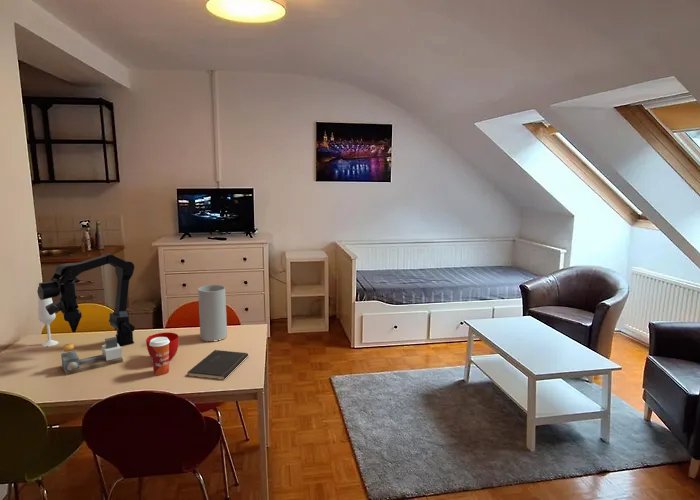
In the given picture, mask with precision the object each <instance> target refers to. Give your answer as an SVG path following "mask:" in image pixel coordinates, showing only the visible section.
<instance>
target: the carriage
mask: <svg viewBox="0 0 700 500" xmlns="http://www.w3.org/2000/svg"><path fill="white" fill-rule="evenodd" d="M104 341H105V344H102V345H101V350H102V351H101V352H102V354H103V355H105V357H106V361H108V360H112V359H117V358H121V357H122V358H123V353H122V352H123V351H122V350H123V349H122V346H119V344H118V343H117V339H116V336H114V337H108V338H104Z"/></svg>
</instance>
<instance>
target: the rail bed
mask: <svg viewBox="0 0 700 500" xmlns="http://www.w3.org/2000/svg"><path fill="white" fill-rule="evenodd" d="M60 357H61V368H62V369H63V372H64V375H65V376H69V375H72V374H78V373H82V372H86V371H90V370H95V369H99V368H103V367H107V366H112V365H115V364H119V363H124V359H123V356H122V357H121V358H117V359H112V360H108V361H106V357H105V355H103V353H102V354H98V355H95V356H89V357H85V358H80V359H79V355H78V354H77V351H76V350H72V351H68V352H63V353H61V354H60Z"/></svg>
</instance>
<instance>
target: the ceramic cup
mask: <svg viewBox="0 0 700 500" xmlns="http://www.w3.org/2000/svg"><path fill="white" fill-rule="evenodd" d="M156 337H167V338H168V339H169V341H170V343H169V362H170V361H172V360H173V358H174V357H175V355H176V354H177V352H178V349H179V340H180V338H179V334H177V333H175V332H158V333H155V334H152V335H149V336H148V337H147V338H146V339H145V342H146V348H147V352H148V354H149V356H150V358H152V355H151V348H150V345H149V343H150V340H151V339H153V338H156Z"/></svg>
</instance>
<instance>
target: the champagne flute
mask: <svg viewBox="0 0 700 500" xmlns="http://www.w3.org/2000/svg"><path fill="white" fill-rule="evenodd" d="M37 297H38V300H37V301H38V302H37V305H38V306H37V307H38V309H37V310H38V311H37V312H38V313H37V317H38V320H39V321H40V322H41V323H42V324H44V325H46V332H47V340H46V341H45V342H43V343H42V344H41V347H44V348H45V347H46V346H48V347H54V346H56V345H58V344H59V341H56V340H53V339H52V335H51V323H52V322H53V321H54V320H55V319H56V315H57V314H56V312H55V313H54V314H52V315H49V313H48V311H47V310H46V308H45V307H46V306H47V305H49V304H51V303H53V298H48V299H44V300H41V299H40V298H39V296H38V295H37Z"/></svg>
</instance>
